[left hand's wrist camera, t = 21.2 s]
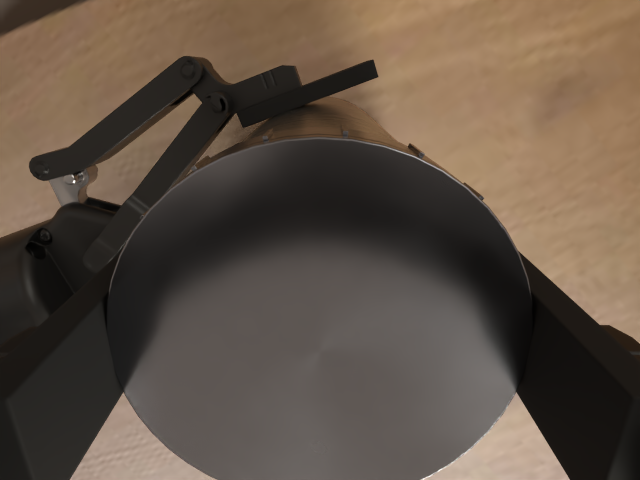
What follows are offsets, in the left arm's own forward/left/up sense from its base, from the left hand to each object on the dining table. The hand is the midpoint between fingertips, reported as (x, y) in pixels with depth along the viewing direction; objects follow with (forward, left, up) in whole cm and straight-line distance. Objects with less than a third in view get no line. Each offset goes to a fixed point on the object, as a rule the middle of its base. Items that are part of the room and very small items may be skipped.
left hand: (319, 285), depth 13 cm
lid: (0, 0, +3) cm, 3 cm away
